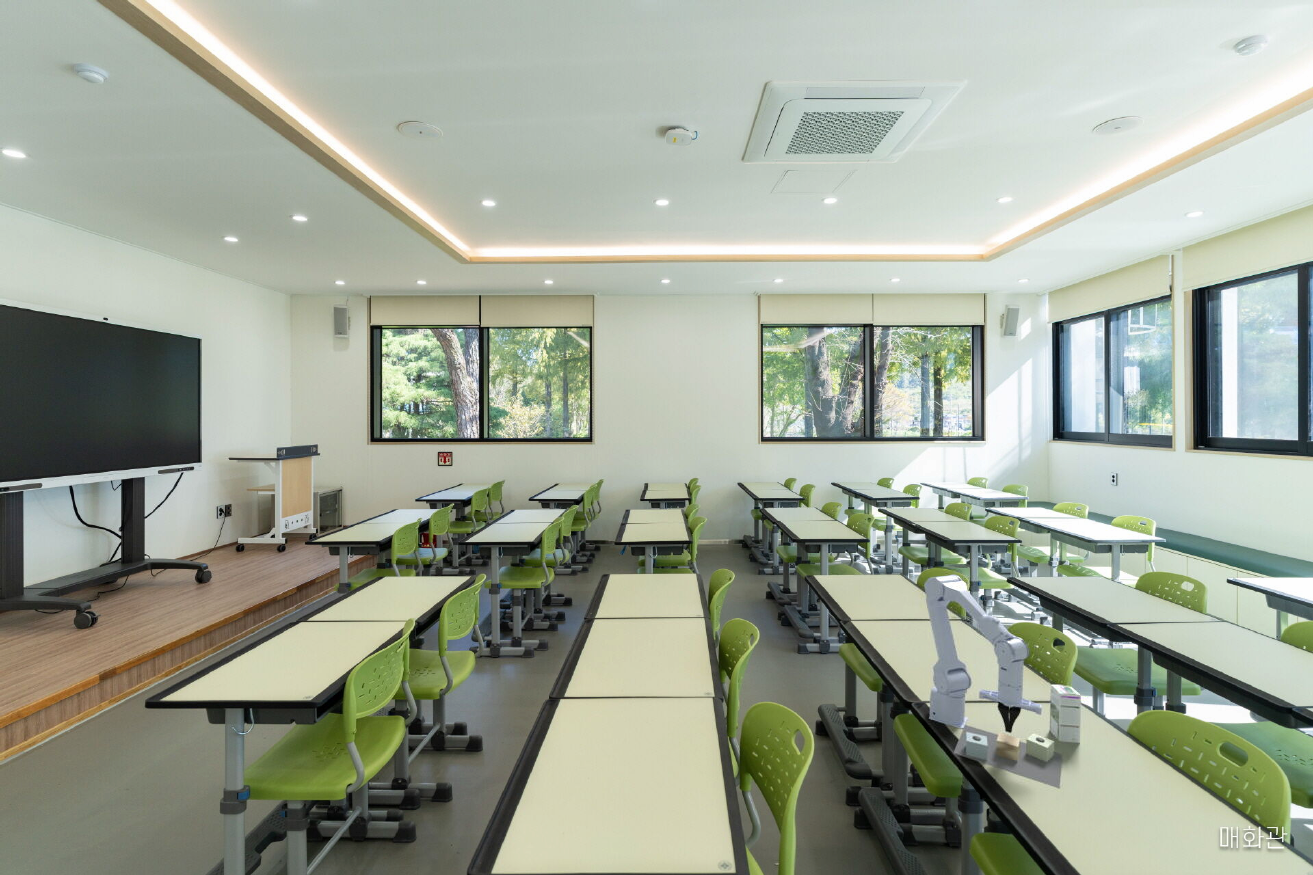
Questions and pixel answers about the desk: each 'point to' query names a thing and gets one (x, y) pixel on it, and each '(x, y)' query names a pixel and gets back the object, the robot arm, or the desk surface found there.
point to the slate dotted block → (976, 745)
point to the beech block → (1008, 746)
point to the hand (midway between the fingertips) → (1008, 730)
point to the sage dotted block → (1040, 747)
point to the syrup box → (1065, 713)
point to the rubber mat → (1023, 766)
